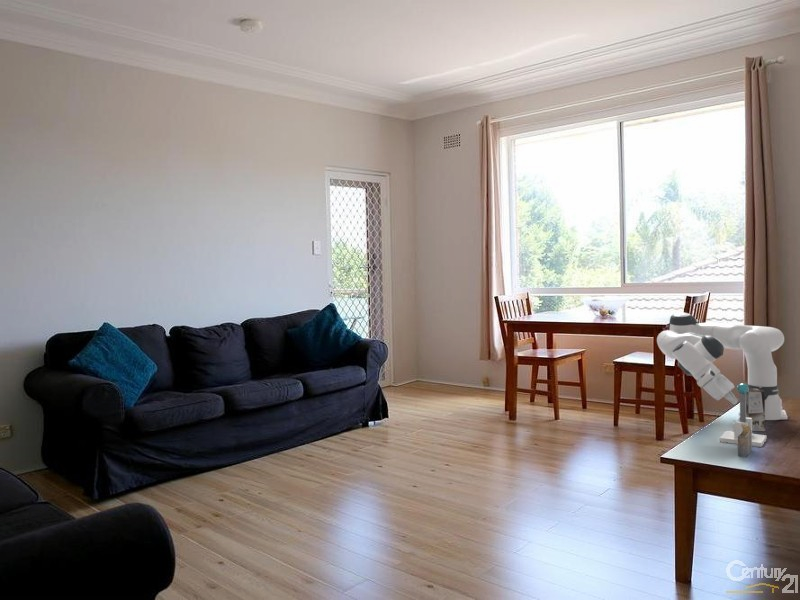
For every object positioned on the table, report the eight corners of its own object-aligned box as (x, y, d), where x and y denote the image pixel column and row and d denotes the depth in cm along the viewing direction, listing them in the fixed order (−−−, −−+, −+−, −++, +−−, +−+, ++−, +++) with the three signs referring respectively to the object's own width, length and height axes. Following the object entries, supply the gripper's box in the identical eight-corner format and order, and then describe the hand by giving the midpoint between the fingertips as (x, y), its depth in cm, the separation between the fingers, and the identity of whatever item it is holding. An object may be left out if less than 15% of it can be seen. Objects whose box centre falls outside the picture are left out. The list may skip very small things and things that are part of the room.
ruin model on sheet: (742, 449, 237) (742, 423, 236) (751, 450, 235) (751, 424, 234) (736, 457, 228) (736, 430, 227) (746, 458, 226) (745, 431, 225)
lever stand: (726, 434, 255) (726, 414, 255) (766, 439, 247) (766, 418, 246) (719, 441, 246) (719, 421, 245) (761, 446, 237) (761, 425, 237)
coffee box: (765, 431, 258) (765, 391, 257) (748, 431, 259) (747, 391, 258) (757, 425, 267) (757, 387, 266) (741, 425, 268) (740, 387, 267)
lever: (738, 428, 250) (738, 381, 249) (750, 430, 247) (750, 382, 246) (736, 432, 245) (735, 384, 244) (747, 433, 243) (747, 385, 242)
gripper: (708, 376, 262) (735, 403, 256) (696, 385, 246) (724, 413, 240) (720, 366, 259) (748, 393, 253) (708, 374, 243) (737, 402, 237)
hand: (736, 403), depth 247 cm, fingers closed
